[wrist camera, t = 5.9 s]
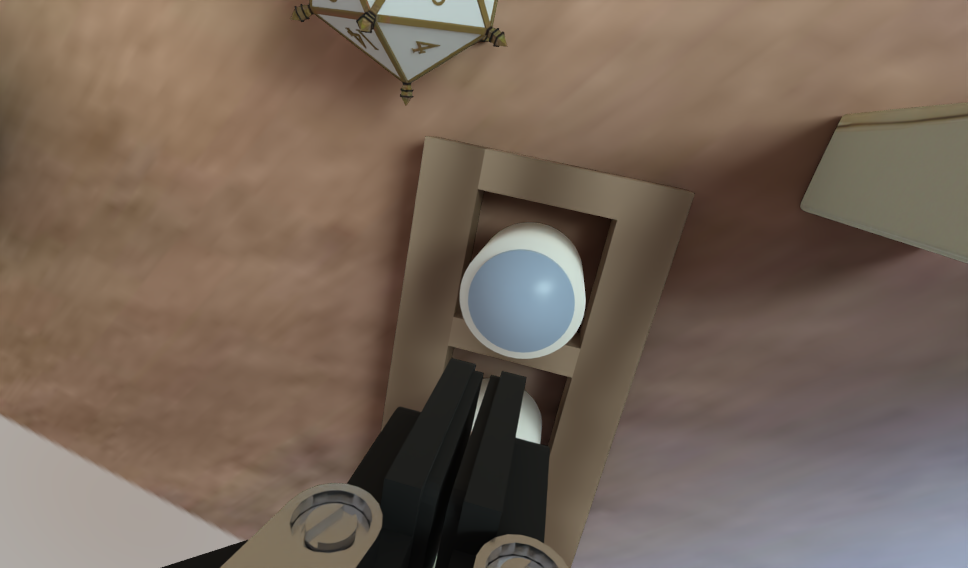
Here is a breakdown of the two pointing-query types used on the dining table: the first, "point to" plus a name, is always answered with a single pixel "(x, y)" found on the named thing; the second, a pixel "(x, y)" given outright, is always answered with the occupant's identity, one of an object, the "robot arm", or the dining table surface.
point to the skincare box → (899, 177)
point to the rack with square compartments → (607, 322)
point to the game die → (408, 30)
